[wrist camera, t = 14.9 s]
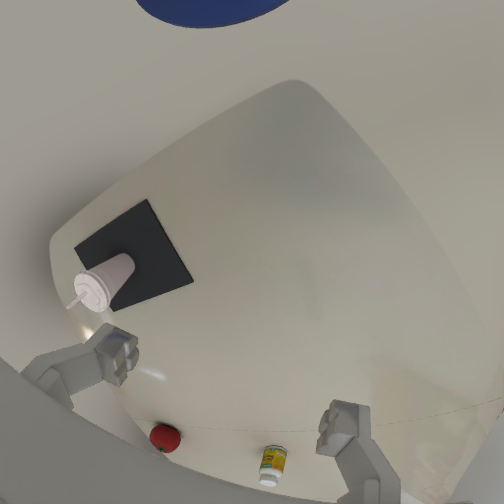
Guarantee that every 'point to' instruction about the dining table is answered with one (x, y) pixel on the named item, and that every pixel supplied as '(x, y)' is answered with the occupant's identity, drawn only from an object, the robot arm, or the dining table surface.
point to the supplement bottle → (272, 465)
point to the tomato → (165, 438)
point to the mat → (137, 255)
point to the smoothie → (102, 282)
